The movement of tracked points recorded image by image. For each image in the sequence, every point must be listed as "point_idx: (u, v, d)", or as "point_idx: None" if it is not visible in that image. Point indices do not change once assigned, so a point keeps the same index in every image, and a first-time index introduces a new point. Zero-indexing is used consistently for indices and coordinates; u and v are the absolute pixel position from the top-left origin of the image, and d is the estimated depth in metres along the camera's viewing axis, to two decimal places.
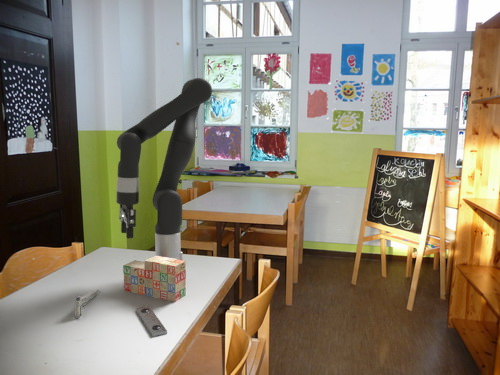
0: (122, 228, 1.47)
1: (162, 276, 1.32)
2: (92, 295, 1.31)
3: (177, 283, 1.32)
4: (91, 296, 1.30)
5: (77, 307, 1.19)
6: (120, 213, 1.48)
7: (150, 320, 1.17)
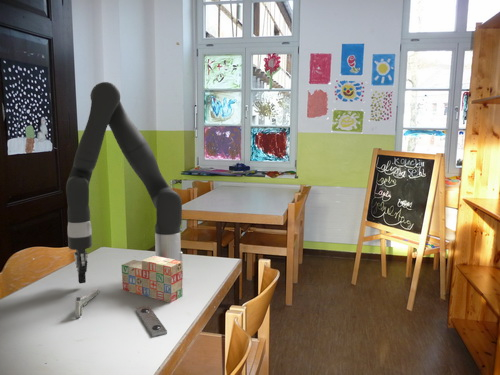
0: (79, 278, 1.41)
1: (158, 276, 1.32)
2: (92, 295, 1.32)
3: (173, 283, 1.31)
4: (91, 296, 1.31)
5: (77, 307, 1.19)
6: None
7: (150, 320, 1.17)
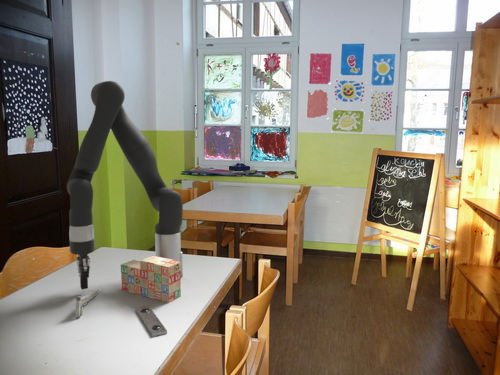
0: (81, 284, 1.36)
1: (156, 276, 1.32)
2: (92, 295, 1.32)
3: (171, 284, 1.31)
4: (91, 296, 1.31)
5: (78, 307, 1.19)
6: None
7: (150, 320, 1.17)
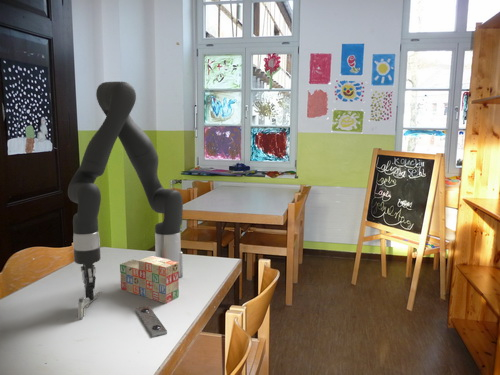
0: None
1: (154, 276, 1.32)
2: (94, 297, 1.31)
3: (169, 284, 1.31)
4: None
5: (80, 309, 1.18)
6: None
7: (150, 320, 1.17)
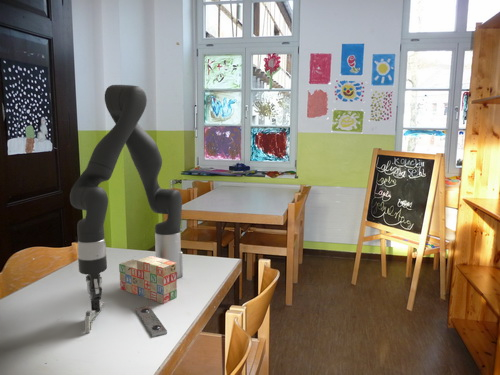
0: None
1: (152, 277, 1.32)
2: (100, 308, 1.23)
3: (166, 284, 1.30)
4: None
5: (87, 323, 1.10)
6: None
7: (150, 320, 1.17)
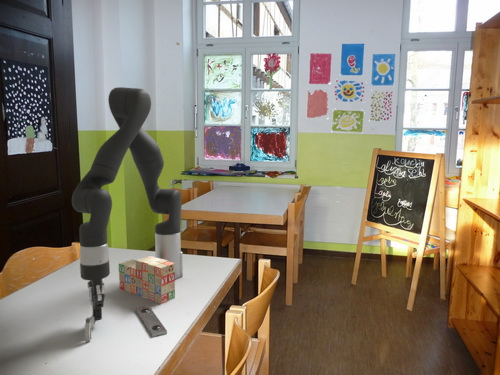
0: None
1: (150, 277, 1.31)
2: None
3: (164, 285, 1.30)
4: None
5: (88, 330, 1.06)
6: None
7: (150, 320, 1.17)
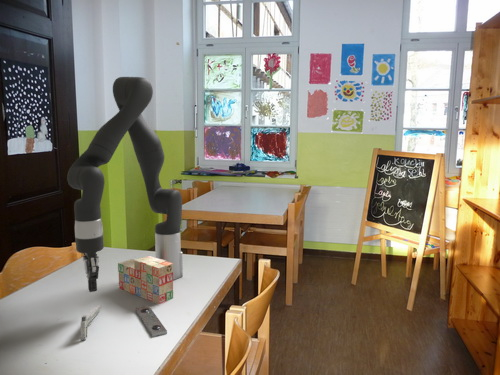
0: (89, 285, 1.20)
1: (148, 277, 1.31)
2: (95, 313, 1.19)
3: (162, 285, 1.30)
4: (94, 314, 1.18)
5: (83, 328, 1.06)
6: None
7: (150, 320, 1.17)
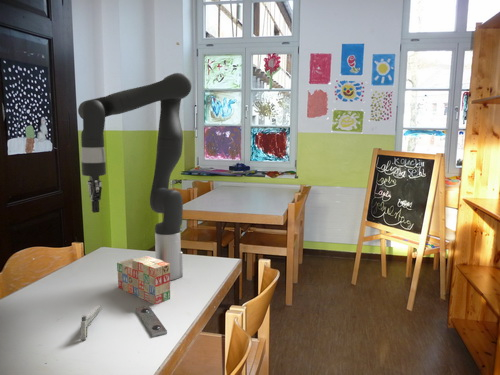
0: None
1: (145, 277, 1.31)
2: (95, 313, 1.19)
3: (158, 285, 1.29)
4: (94, 314, 1.18)
5: (83, 328, 1.06)
6: None
7: (150, 320, 1.17)
